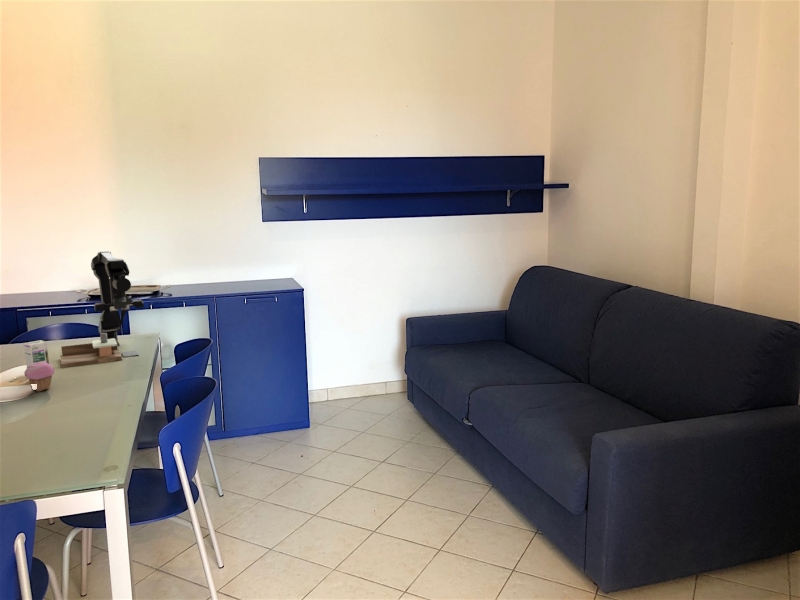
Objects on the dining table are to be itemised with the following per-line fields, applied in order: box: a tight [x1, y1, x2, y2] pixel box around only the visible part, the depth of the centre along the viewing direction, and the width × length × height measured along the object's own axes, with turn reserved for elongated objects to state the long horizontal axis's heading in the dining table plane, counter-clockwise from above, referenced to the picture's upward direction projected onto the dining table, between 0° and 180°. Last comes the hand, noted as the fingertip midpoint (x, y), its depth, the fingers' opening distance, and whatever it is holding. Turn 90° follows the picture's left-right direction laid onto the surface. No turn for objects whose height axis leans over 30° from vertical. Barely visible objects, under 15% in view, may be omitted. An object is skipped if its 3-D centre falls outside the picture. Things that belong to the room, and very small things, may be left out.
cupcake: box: [24, 362, 55, 392], centre depth 209 cm, size 9×9×10 cm
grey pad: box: [121, 350, 140, 358], centre depth 257 cm, size 8×6×1 cm
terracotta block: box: [99, 347, 112, 356], centre depth 252 cm, size 4×4×5 cm
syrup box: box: [23, 339, 50, 369], centre depth 221 cm, size 6×6×14 cm
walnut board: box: [60, 340, 123, 369], centre depth 250 cm, size 16×22×5 cm
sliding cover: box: [91, 333, 118, 348], centre depth 253 cm, size 12×9×5 cm
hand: (121, 325), depth 256 cm, fingers closed
